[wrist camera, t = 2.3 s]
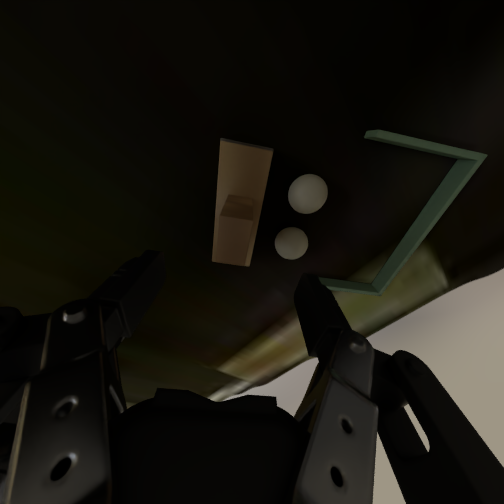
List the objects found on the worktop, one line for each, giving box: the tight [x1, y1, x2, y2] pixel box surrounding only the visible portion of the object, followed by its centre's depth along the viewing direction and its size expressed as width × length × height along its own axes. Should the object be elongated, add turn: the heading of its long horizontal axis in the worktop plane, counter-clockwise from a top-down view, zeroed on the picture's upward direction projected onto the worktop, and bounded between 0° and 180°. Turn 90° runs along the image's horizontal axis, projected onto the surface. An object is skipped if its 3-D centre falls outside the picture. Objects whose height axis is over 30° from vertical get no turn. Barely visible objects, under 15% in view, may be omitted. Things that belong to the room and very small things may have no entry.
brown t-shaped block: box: [212, 138, 274, 266], centre depth 17 cm, size 5×13×10 cm, turn 170°
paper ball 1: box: [275, 227, 308, 259], centre depth 22 cm, size 4×4×4 cm
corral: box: [319, 130, 487, 296], centre depth 22 cm, size 12×19×2 cm, turn 170°
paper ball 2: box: [288, 174, 328, 214], centre depth 19 cm, size 4×4×4 cm
